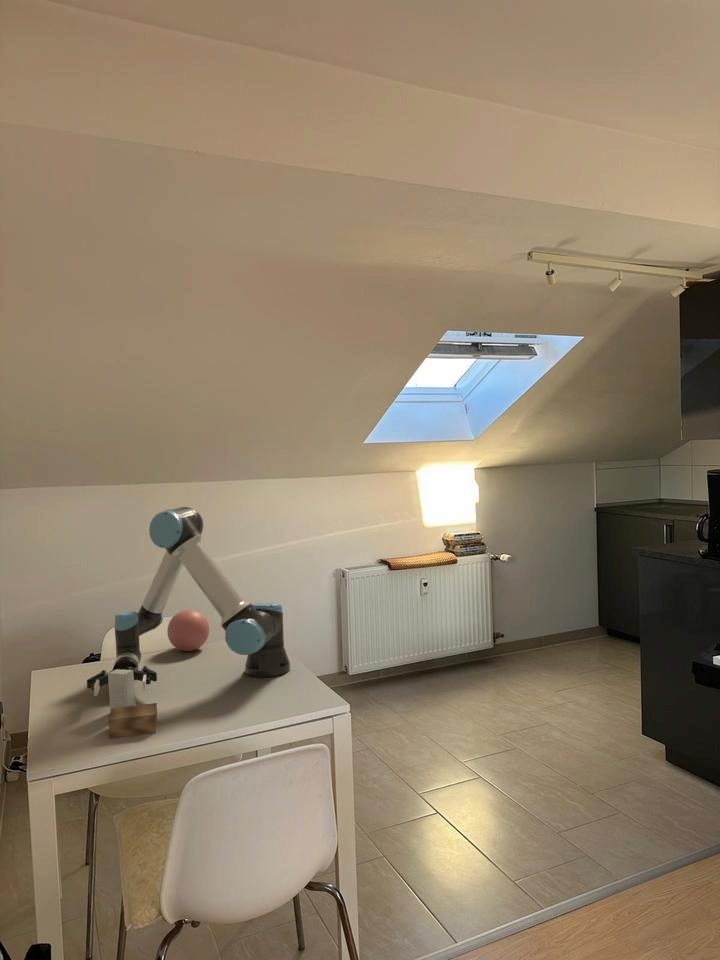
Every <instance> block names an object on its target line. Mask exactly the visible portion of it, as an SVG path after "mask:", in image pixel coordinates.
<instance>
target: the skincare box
mask: <svg viewBox="0 0 720 960" xmlns="http://www.w3.org/2000/svg"><path fill="white" fill-rule="evenodd" d="M111 671H112V670H111ZM109 672H110V671H109ZM107 673H108V672H107ZM134 681H135V680H134V674H133V670H119V669H116V670H114V671H112V672H110V673H108V682H109V683H108V694H109V713H110V712H111V708H118V707H127V706H135V705H136V694H135V693H136V692H135V682H134Z"/></svg>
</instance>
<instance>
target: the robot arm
mask: <svg viewBox="0 0 720 960" xmlns="http://www.w3.org/2000/svg"><path fill="white" fill-rule="evenodd" d="M203 530H204V520H203V517H202V516H201V514H200V513H199V511H197V510H196V509H194V508H192V507H188V506H181V507H178V508H171V509H165V510H163V511H160V512H158V513H156V514H155V515H154V517H153V518H152V519H151V521H150V523H149V529H148V532H149V537H150V540H151V542H152V543H153V544H154V545H155V546H156V547H158V548H161V549H165V552H164V555H163V557H162V560H161V561H160V564H159V565H158V568H157V570H156V573H155V575H154V578H153V579H152V581H151V583H150V586H149V588H148V590H147V592H146V595H145V597H144V599H143V602H142V604H141V606H140V607H139V609H138V611H136V610H135V611H134V610H125V611H122V612H121V611H120V612H118V613H116V614H115V615H114V625H113V627H114V635H115V637H114V638H115V656H116V659H115V661H114V664H113V668H112V670H111V671H109V672H107V671H106V669H105V670H104V669H103V670H101V671H100V672H99V673H97V674H95V675H94V676H91V677H90V678H88V679H86V687H87V688H86V689H91V691H93V696H94V697H95V696H96V697H97V696H98V694H99V691H100V687H103V686H105V685H109V682H108V673H110V672H112V671H114V670H116V669H119V670H133V674H134V681H140V682H142V691H146V689H147V686H148V685H150V684H151V683H152V682H158V677H157V676H158V673H157V671H154V670H153V669H150V668H148V665H147V666H146V665H143V666H142V667H141V668H140V669H139V667H140V663H141V660H142V652H141V650H140V648H141V647H140V636H142V635H145V634H147V633H148V632H150V631H154V630H155V629H156V628H158V627H160V625H161V624H162V623H163V621H164V614H163V611H164V610H165V608H166V605H167V603H168V601H169V599H170V596H171V594H172V593H173V590H174V588H175V585H176V584H177V581H178V579H179V577H180V575H181V573H182V572H183V571H182V570H183V568H185V570H186V571H187V572H188V573H189V575H190V576H191V578H192V579H193V581H195V583H196V584H197V586H198V587H199V589H200V590H201V592H202V593H203V594H204V596H205V597H206V598H207V600H208V601H209V603H210V604H211V605H212V606H213V608H214V609H215V611H216V612H217V614H218V615H219V616H220V618H221V622H220V626H221V628H223V630H224V633H225V636H224V638H225V643H226V645H227V646H228V648H229V649H230V651H232V652H233V653H235V654H237V655H242V656H247V657H246V661H245V665H244V673H245V674H246V676H249V677H255V678H271V677H278V676H280V675H285V674H287V673H288V672H290V671H291V661H290V660H289V656H288V654H287V651H286V648H285V641H284V616H283V615H284V612H283V606H282V604H280V603H278V602H255V603H254V602H253V603H251V602H246V601H244V600H243V599H242V597H241V596H240V594H239V593H238V592H237V590H236V589H235V587H234V586H233V585H232V584H231V582H230V581H229V580H228V578H227V577H226V576H225V574H224V572H222V570H221V568H220V567H219V565H218V564H217V562H215V560H214V559H213V558H212V556H211V555H210V554H209V552H208V551H207V550H206V548H205V547H204V545H203V543H202V542H201V541H202V534H203Z"/></svg>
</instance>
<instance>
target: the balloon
mask: <svg viewBox="0 0 720 960" xmlns="http://www.w3.org/2000/svg"><path fill="white" fill-rule="evenodd" d="M166 630H167V632H166V633H167V638H168V640H169V642H170V644H171V645H172V646H173V647H174V648H175V649H177V650H179V651H182V652H193V651H195V650H198V649H199V648H201V647H202V646H203V645H204V644H205V643H206V642H207V640H208V638H209V634H210V625H209V621H208V619H207V618H206V617H205V615H204V614H202V613H201V612H199V611H198V610H194V609H185V610H181V611H179V612H177V613H176V614H175V615H173V616H172V618H170V620H169V622H168V626H167V629H166Z"/></svg>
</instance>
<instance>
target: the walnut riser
mask: <svg viewBox="0 0 720 960" xmlns="http://www.w3.org/2000/svg"><path fill="white" fill-rule="evenodd" d="M157 704H158V703H157V702H155V703H154V702H153V703H147V704H145V703H144V704H137V705H136V704H135V706H127V707H118V708H111V712H110V711H109V716H108V737H109V739H116V738H115V737H117V738H123V737H122V736H125V737H132V736H131V735H133V736H137V735H136V734H141V735H147V733H149V734H153V732H156V733H157V731H158V730H157V727H158V707H157V706H158V705H157ZM156 730H157V731H156Z"/></svg>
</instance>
